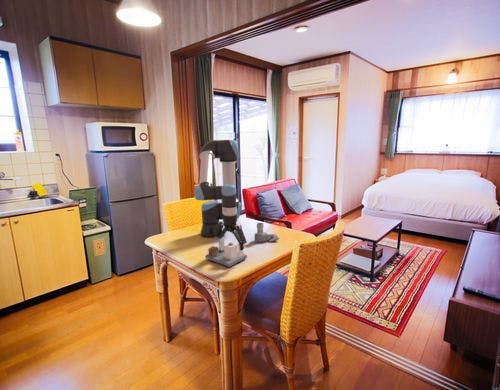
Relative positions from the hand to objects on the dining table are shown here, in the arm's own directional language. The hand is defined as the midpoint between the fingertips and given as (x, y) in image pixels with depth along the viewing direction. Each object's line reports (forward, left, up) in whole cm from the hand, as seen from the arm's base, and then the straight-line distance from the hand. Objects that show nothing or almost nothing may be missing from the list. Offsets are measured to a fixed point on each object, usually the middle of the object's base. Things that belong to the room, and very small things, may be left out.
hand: (231, 252), depth 148 cm
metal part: (-10, +3, -2) cm, 10 cm away
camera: (-4, +37, -5) cm, 37 cm away
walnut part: (-10, -4, -2) cm, 11 cm away
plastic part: (0, 0, -2) cm, 2 cm away
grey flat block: (-4, 0, -5) cm, 6 cm away
